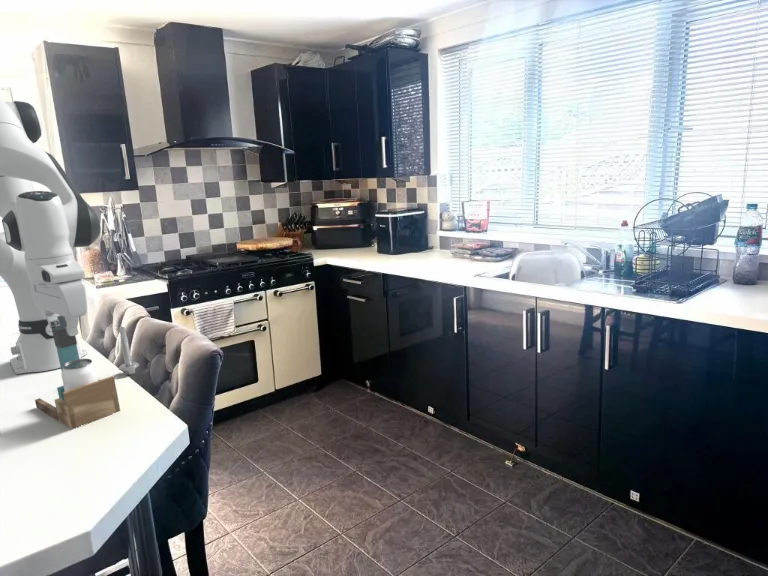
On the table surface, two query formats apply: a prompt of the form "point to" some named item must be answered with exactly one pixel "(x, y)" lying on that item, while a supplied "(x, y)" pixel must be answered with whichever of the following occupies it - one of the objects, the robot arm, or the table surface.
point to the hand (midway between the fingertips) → (63, 331)
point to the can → (78, 373)
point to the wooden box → (84, 403)
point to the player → (64, 350)
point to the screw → (126, 354)
